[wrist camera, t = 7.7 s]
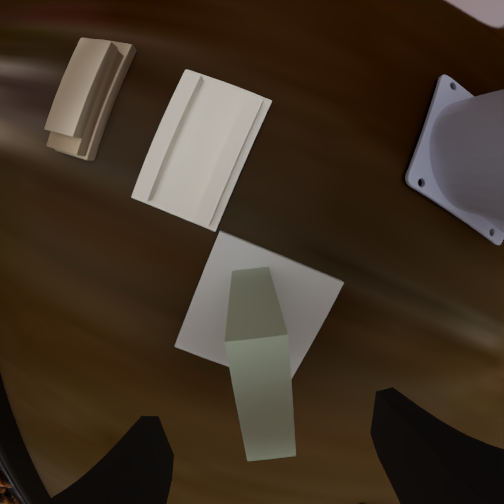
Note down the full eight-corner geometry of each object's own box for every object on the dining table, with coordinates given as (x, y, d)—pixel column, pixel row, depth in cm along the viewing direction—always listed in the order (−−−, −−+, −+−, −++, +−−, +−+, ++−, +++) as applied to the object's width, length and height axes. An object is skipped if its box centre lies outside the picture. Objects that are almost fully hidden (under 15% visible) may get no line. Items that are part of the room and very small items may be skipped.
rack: (271, 102, 16) (274, 96, 15) (216, 230, 18) (213, 235, 16) (187, 71, 16) (182, 63, 14) (134, 196, 17) (124, 198, 16)
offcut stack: (138, 51, 15) (119, 30, 12) (95, 160, 17) (68, 158, 13) (105, 46, 15) (83, 26, 12) (64, 151, 16) (34, 148, 13)
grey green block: (268, 266, 18) (288, 334, 10) (277, 359, 19) (295, 455, 11) (231, 270, 18) (224, 342, 10) (245, 363, 19) (247, 461, 11)
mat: (342, 280, 18) (344, 282, 18) (286, 381, 20) (287, 385, 20) (220, 230, 18) (219, 231, 17) (175, 343, 19) (174, 346, 19)
